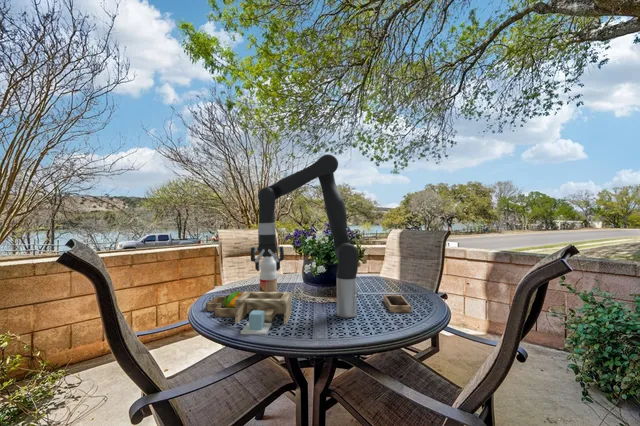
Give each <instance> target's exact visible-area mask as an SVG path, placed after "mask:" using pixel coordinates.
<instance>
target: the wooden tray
mask: <svg viewBox="0 0 640 426" xmlns="http://www.w3.org/2000/svg"><path fill="white" fill-rule="evenodd" d="M389 296H391V297H393V296H394V297H396V298H397V300H398V301H400V300H404V301H405V302H406V303H407V305H408V306H404V305H391V303H390V302H389V300H388V299H387V297H389ZM383 303H384V304H385V306H386V308H387V310H388V311H389V313H412V305H411V304H410V303H409V302H408V301H407V300H406V298H405V297H404V296H403V295H398V294H397V295H391V294H389V295H387V294H386V295H385V294H384V295H383Z"/></svg>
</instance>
